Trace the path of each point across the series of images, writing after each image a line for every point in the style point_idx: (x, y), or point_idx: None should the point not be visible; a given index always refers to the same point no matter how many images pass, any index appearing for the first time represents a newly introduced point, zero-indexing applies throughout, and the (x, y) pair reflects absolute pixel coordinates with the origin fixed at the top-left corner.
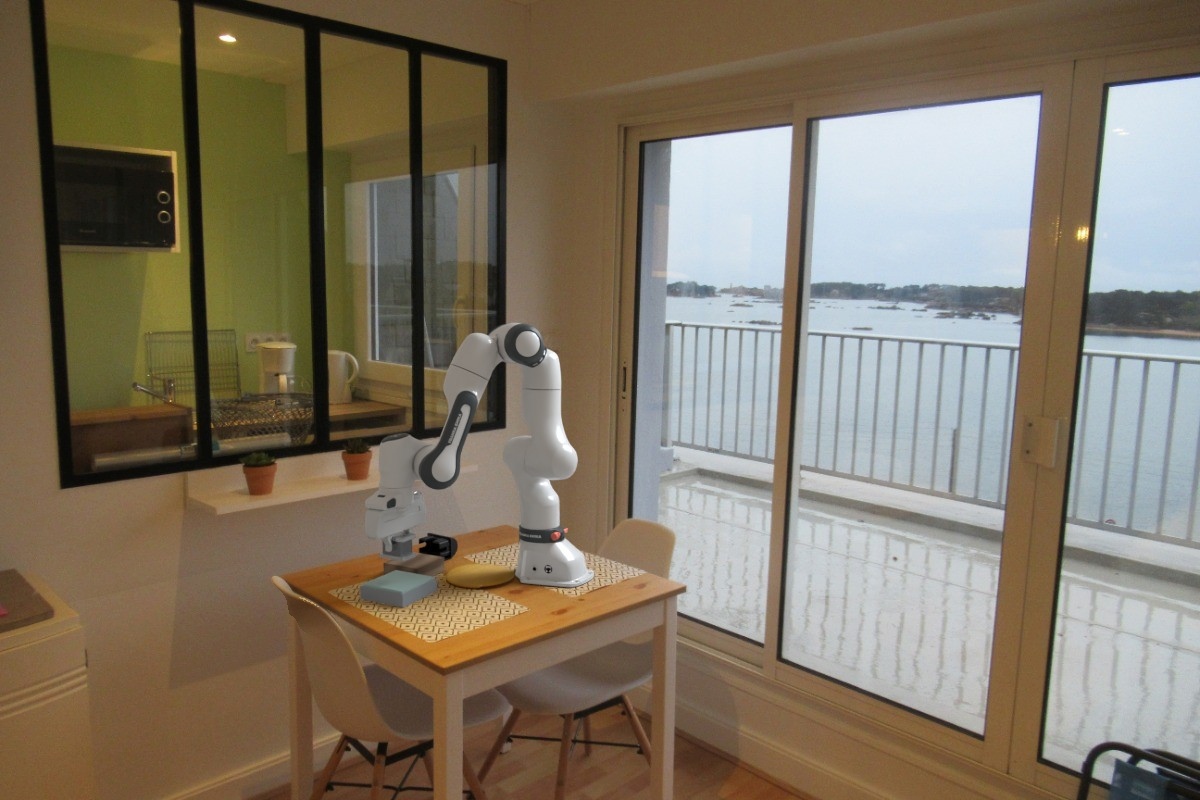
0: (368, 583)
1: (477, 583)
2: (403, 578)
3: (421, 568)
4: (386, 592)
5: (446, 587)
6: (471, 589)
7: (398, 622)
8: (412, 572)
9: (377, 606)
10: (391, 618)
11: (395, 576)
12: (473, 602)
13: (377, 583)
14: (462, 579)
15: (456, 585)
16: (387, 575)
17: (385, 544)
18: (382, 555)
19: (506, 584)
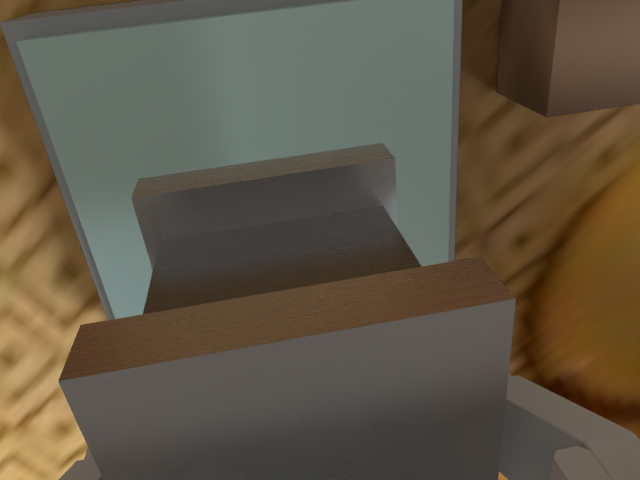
0: (60, 78)
1: (599, 337)
2: None
3: (585, 108)
4: (94, 272)
5: (495, 274)
6: (516, 371)
7: (6, 444)
8: (533, 59)
9: (49, 217)
10: (8, 393)
11: (322, 123)
12: None
13: (116, 140)
14: (634, 248)
15: (540, 289)
16: (306, 44)
17: (79, 469)
18: (150, 241)
19: (623, 421)
